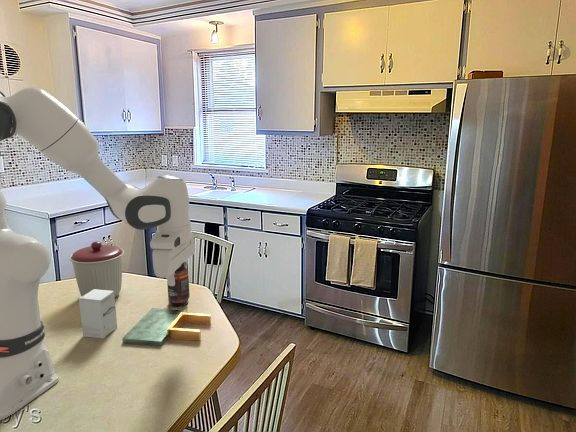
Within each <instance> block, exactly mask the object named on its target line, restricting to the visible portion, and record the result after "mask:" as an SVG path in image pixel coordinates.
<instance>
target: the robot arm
mask: <svg viewBox="0 0 576 432" xmlns="http://www.w3.org/2000/svg"><path fill="white" fill-rule="evenodd" d="M14 135H17V136H20V137H22V138H23V139H25V140H26V141H27V142H29V143H30V144H31V145H32V147H34V148H36V150H37V151H39V152H40V153H41V154H42V155H43V156H44V157H46V158H47V159H48V160H50V162H53V163H54V164H55V165H57V166H59V168H63V170H66V171H67V172H71V173H74V174H76V175H77V176H80V177H81V178H83V180H85V181H86V182H87V183H88V184H89V185H90V186H91V187H93V188H94V189H95V191H96V192H98V193H99V194H100V195H102V197H103V198H104V199H105V201H106V204H107V206H108V208H109V211H110V212H111V214H112V215H113V216H114V217H115V218H116V219H118V220H120V221H122V222H124V223H125V224H127V225H128V226H130V227H131V228H133V229H136V230H141V231H144V230H149V229H152V228H155V227H156V228H157V229H156V231H155V233H154V236H153V237H152V238H151V240H150V242H149V245H150V248H151V249H153V250H152V266H153V272H154V275H155V276H156V277H157V278H164V279H165V278H166V280H167V279H168V285H169V286H174V285H175V284H176V283H177V282H176V278H175V277H174V274H175V271H176V270H177V269H178V268H179V267H180V266H181V264H182V263H183V262H184V265H185V266H184V267H185V268H186V269H188V263H189V259H190V258H191V257H192V256H193V255H195V252H196V244H195V238H194V233H193V231H192V227H191V219H190V217H189V211H190V199H189V198H190V197H189V192H188V188H187V183H186V181H185V180H184V179H183V178H181V177H179V176H173V175H166V174H165V175H158V176H156V177H155V179H154V180H152V181H151V182H150V183H148V184H147V185H146V186H144V187H142V188H139V187H137V186H135V185H132V184H131V183H130V184H129V183H126V182H125V181H123V180H122V179H120V178H119V177H118V176H117V174H115V172H113V171H112V169H111V168H109V167H108V165H106V163H104V161H103V160H102V158H101V157H100V155H99V143H98V140H97V139H96V138H95V136H94V135H93V133H92V132H91V131H90V130H89V128H88V127H87V126H86V125H85V124H84V122H83V121H81V119H79V117H77V116H76V115H75V114H74V113H73V112H72V111H71V110H70V109H69V108H68V107H66V106H65V104H63V103H61V102H60V101H59V100H57V98H55V97H54V96H53V95H51V94H49V93H48V92H47V91H46V90H44V89H42V88H39V87H36V86H34V87H25V88H22V89H20V90H18V91H16V92H15V93H14V94H12V95H10V96H6V95H5V94H4V93H3V92H2V91H1V90H0V142H2V141H4V140H7V139H9V138H12V137H13V136H14ZM6 207H7V200H6V197H5V196H4V194H3V192H2V190H1V189H0V421H1V420H5V418H6V417H8V416H9V417H11V416H12V415H13V414H15V413H17V411H19V410H21V409H22V408H24V407H25V406H26V405H27V404H29V403H30V402H32V401H33V400H34V399H36V398H38V397H39V396H40V395H42V394H43V393H44V392H46V391H47V390H49V389H50V388H51V387H53V386H54V385H56V384H57V383H58V382H59V379H60V378H59V376H58V375H57V373H56V367H55V366H54V364H53V361H52V359H51V358H52V357H51V354H50V351H49V348H48V346H47V344H46V341H45V336H46V334H45V327H44V323H43V321H42V320H41V313H40V305H39V285H40V281H41V278H42V277H43V276H44V275H45V274H46V273H47V272H48V270H49V267H50V266H51V253H50V250H49V249H48V248H47V246H46V245H45V244H43V243H41V241H39V240H37V239H36V238H34V237H32V236H30V235H26V234H22V233H18V232H14V230H12V228H11V227H9V225H8V224H9V223H8V222H7V217H6V214H5V213H6V212H5V209H6ZM10 415H11V416H10ZM9 417H8V418H9ZM6 419H7V418H6Z"/></svg>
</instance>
